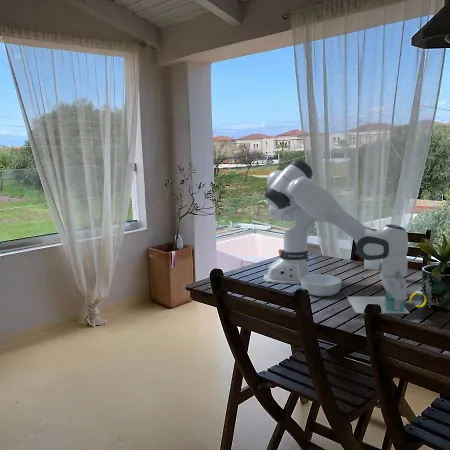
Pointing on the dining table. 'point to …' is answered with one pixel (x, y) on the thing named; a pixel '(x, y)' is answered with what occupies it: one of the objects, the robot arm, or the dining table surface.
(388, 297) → the teal square box
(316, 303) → the dining table surface
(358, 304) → the post base
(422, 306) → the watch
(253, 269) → the dining table surface
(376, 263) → the medicine bottle
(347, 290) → the dining table surface
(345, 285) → the dining table surface
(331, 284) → the cereal bowl
